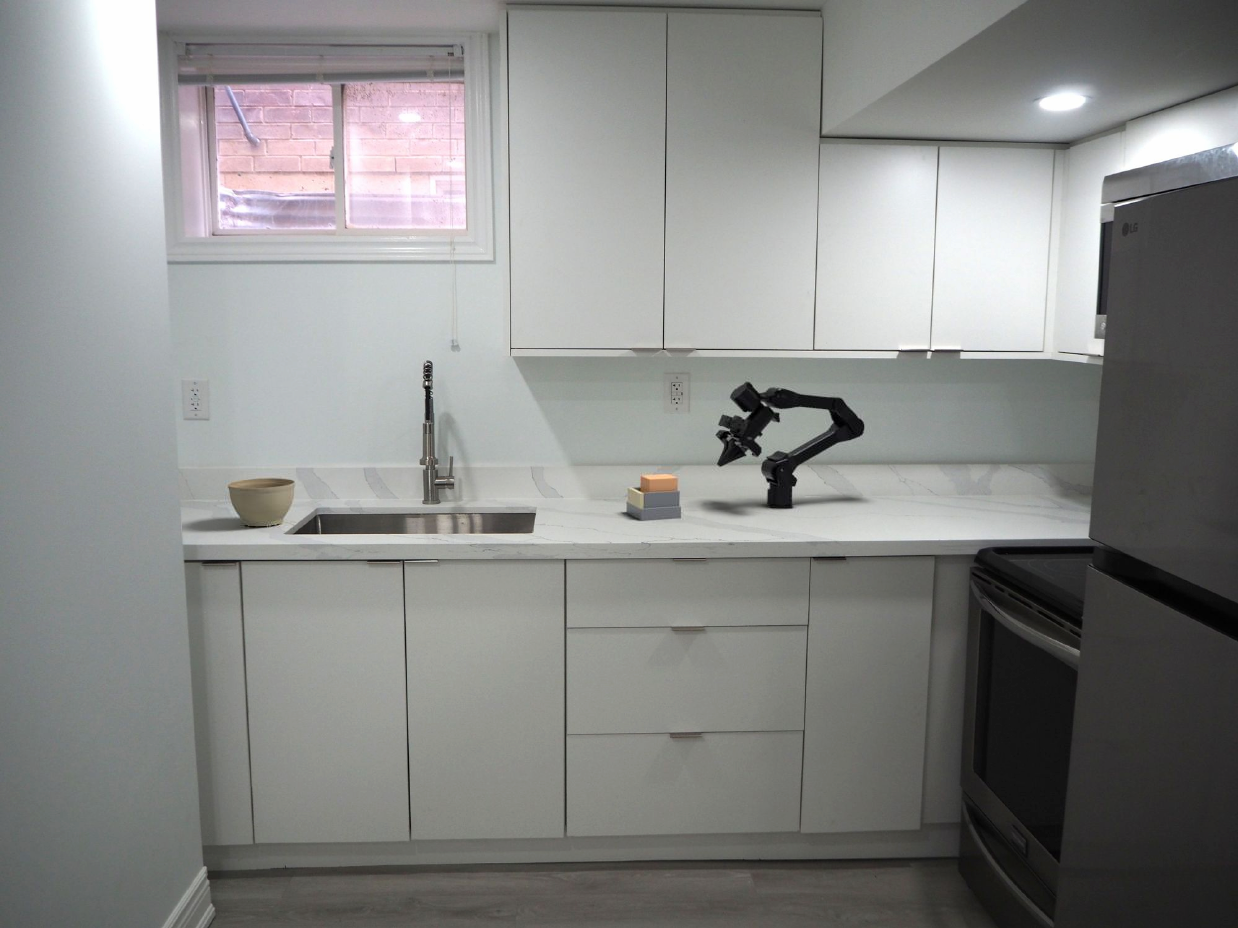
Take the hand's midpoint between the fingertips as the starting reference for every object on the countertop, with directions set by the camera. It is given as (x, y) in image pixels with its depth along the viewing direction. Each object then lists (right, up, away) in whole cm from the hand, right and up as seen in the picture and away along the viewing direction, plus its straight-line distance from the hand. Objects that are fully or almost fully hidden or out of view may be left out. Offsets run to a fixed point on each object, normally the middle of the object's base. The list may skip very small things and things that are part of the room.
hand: (718, 465), depth 256 cm
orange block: (-17, -10, -5) cm, 20 cm away
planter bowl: (-119, -15, -16) cm, 121 cm away
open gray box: (-18, -13, -4) cm, 22 cm away
